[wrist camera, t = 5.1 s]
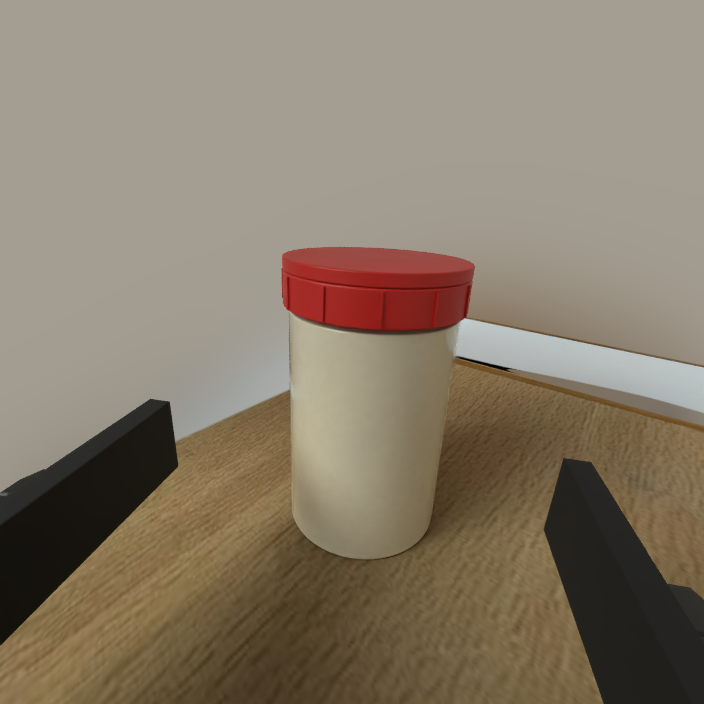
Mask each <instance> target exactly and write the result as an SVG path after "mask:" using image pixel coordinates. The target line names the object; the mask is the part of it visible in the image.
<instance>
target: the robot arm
mask: <svg viewBox="0 0 704 704" xmlns="http://www.w3.org/2000/svg"><path fill="white" fill-rule="evenodd" d="M177 467H178V460H177V453H176V445H175V438H174V430H173V423H172V415H171V408H170V402H168V401H161V400H154V399H150V400H148V401H147V402H145V403H144V404H142V405H141V406H139V407H138V408H136V409H135V410H133V411H132V412H130V413H129V414H127V415H126V416H124V417H123V418H121V419H120V420H118V421H117V422H116V423H114V424H112V425H111V426H110V427H108V428H106V429H105V430H103V431H102V432H101V433H99V434H98V435H96V436H95V437H93V438H92V439H90V440H89V441H87V442H86V443H84V444H83V445H82V446H80V447H78V448H77V449H75V450H74V451H72V452H71V453H69V454H68V455H66V456H65V457H63V458H62V459H60V460H59V461H57V462H56V463H54V464H53V465H51V466H50V467H48V468H47V469H45V470H44V469H43V470H41V471H39V472H37V473H34V474H32V475H30V476H27V477H25V478H23V479H20V480H19V481H17V482H16V483H14V484H13V485H11V486H10V487H8V488H7V489H5V490H4V491H2V492H1V493H0V645H1V644H2V643H3V642H4V641H5V640H6V639H7V638H8V637H9V636H10V635H11V634H12V633H13V632H14V631H15V630H16V629H17V628H18V627H19V626H20V625H21V624H22V623H23V622H24V621H25V620H26V619H27V618H28V617H29V616H30V615H31V614H32V613H33V612H34V611H35V610H36V609H37V608H38V607H39V606H40V605H41V604H42V603H43V602H44V601H45V600H46V599H47V598H48V597H49V596H50V595H51V594H52V593H53V592H54V591H55V590H56V589H57V588H58V587H59V586H60V585H61V584H62V583H63V582H64V581H65V580H66V579H67V578H68V577H69V576H70V575H71V574H72V573H73V572H74V571H75V570H76V569H77V568H78V567H79V566H80V565H81V564H82V563H83V562H84V561H85V560H86V559H87V558H88V557H89V556H90V555H91V554H92V553H93V552H94V551H95V550H96V549H97V548H98V547H99V546H100V545H101V544H102V543H103V542H104V541H105V540H106V539H107V538H108V537H109V536H110V535H111V534H112V533H113V532H114V531H115V529H116V528H117V527H118V526H119V525H120V524H121V523H122V522H123V521H124V520H125V519H126V518H127V517H128V516H129V515H130V514H131V513H132V512H133V511H134V510H135V509H136V508H137V507H138V506H139V505H140V504H141V503H142V502H143V501H144V500H145V499H146V498H147V497H148V496H149V495H150V494H151V493H152V492H153V491H154V490H155V489H156V488H157V487H158V486H159V485H160V484H161V483H162V482H163V481H164V480H165V479H166V478H167V477H168V476H169V475H170V474H171V473H172V472H173V471H174V470H175V469H176V468H177ZM544 531H545V534H546V537H547V540H548V543H549V546H550V549H551V552H552V555H553V558H554V560H555V563H556V566H557V569H558V572H559V575H560V578H561V581H562V584H563V587H564V589H565V592H566V595H567V598H568V601H569V604H570V607H571V610H572V613H573V616H574V618H575V621H576V624H577V627H578V630H579V633H580V636H581V639H582V642H583V645H584V647H585V650H586V653H587V656H588V659H589V662H590V665H591V668H592V671H593V674H594V676H595V679H596V682H597V685H598V688H599V691H600V694H601V697H602V700H603V703H604V704H704V600H703V599H702V598H701V597H700V596H699V595H698V594H697V593H695V592H694V591H693V590H692V589H691V588H688V587H682V586H677V585H672V584H667V583H666V581H665V580H664V578H663V577H662V575H661V573H660V572H659V570H658V569H657V567H656V565H655V564H654V562H653V561H652V559H651V557H650V556H649V554H648V553H647V551H646V549H645V548H644V546H643V545H642V543H641V541H640V540H639V538H638V537H637V535H636V533H635V532H634V530H633V529H632V527H631V525H630V524H629V522H628V521H627V519H626V517H625V516H624V514H623V512H622V511H621V509H620V508H619V506H618V504H617V503H616V501H615V500H614V498H613V496H612V495H611V493H610V492H609V490H608V488H607V487H606V485H605V484H604V482H603V480H602V479H601V477H600V476H599V474H598V472H597V471H596V469H595V468H594V466H593V464H592V463H591V462H586V461H579V460H572V459H566V458H564V459H563V462H562V466H561V469H560V473H559V477H558V480H557V484H556V487H555V491H554V494H553V498H552V502H551V505H550V509H549V512H548V516H547V519H546V523H545V527H544Z"/></svg>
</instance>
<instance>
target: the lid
mask: <svg viewBox="0 0 704 704" xmlns="http://www.w3.org/2000/svg"><path fill="white" fill-rule="evenodd" d="M282 267H283V268H282V298H283V304H284V306H285V307H286V309H287V310H289V311H290V312H292V313H294V314H296V315H298V316H300V317H303V318H305V319H308V320H312V321H316V322H320V323H324V324H329V325H334V326H339V327H344V328H355V329H364V330H379V331H411V330H426V329H433V328H439V327H444V326H448V325H452V324H456V323H457V322H460V321H461V320H463V319H464V318H467V313H468V308H469V301H470V295H471V288H472V279H473V275H474V269H475V266H474V264H473V263H471V262H469V261H467V260H464V259H461V258H457V257H452V256H447V255H441V254H435V253H427V252H419V251H409V250H398V249H397V250H396V249H384V248H362V247H361V248H360V247H323V248H307V249H298V250H293V251H289V252H286V253H284V254H283V255H282Z"/></svg>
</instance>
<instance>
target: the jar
mask: <svg viewBox="0 0 704 704" xmlns="http://www.w3.org/2000/svg"><path fill="white" fill-rule="evenodd" d="M459 327H460V322H457V323H456V324H452V325H448V326H444V327H439V328H433V329H426V330H411V331H379V330H364V329H355V328H344V327H339V326H334V325H329V324H324V323H320V322H316V321H312V320H308V319H305V318H303V317H300V316H298V315H296V314H294V313H292V312H290V311H289V347H290V348H289V350H290V432H291V506H292V513H293V517H294V520H295V522H296V524H297V526H298V527H299V529H300V530H301V532H302V533H303V534H304V535H305V536H306V537H307V538H308V539H309V540H310V541H311V542H313V543H314V544H315V545H317V546H319V547H320V548H322V549H324V550H326V551H328V552H330V553H333V554H336V555H339V556H342V557H347V558H352V559H362V560H364V559H380V558H386V557H390V556H394V555H396V554H399V553H401V552H403V551H405V550H407V549H409V548H411V547H412V546H413V545H415V544H416V543H417V542H418V541H419V540H420V539H421V538H422V537H423V535H424V534H425V533H426V531H427V529H428V527H429V525H430V521H431V517H432V510H433V503H434V496H435V489H436V483H437V476H438V469H439V462H440V456H441V449H442V442H443V435H444V428H445V422H446V415H447V408H448V401H449V394H450V388H451V381H452V374H453V367H454V361H455V354H456V347H457V340H458V333H459Z"/></svg>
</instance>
